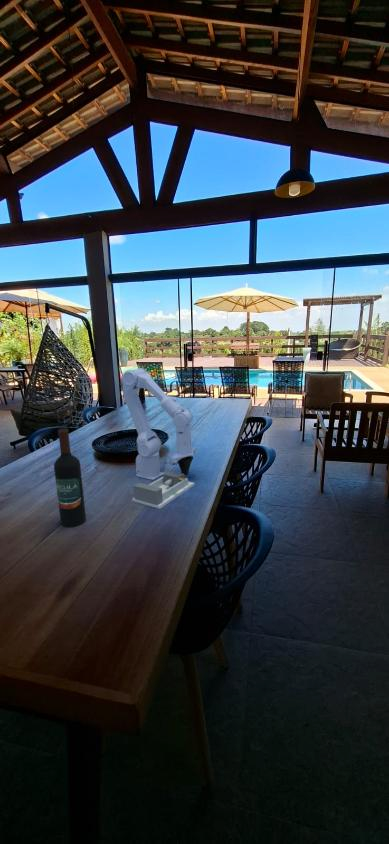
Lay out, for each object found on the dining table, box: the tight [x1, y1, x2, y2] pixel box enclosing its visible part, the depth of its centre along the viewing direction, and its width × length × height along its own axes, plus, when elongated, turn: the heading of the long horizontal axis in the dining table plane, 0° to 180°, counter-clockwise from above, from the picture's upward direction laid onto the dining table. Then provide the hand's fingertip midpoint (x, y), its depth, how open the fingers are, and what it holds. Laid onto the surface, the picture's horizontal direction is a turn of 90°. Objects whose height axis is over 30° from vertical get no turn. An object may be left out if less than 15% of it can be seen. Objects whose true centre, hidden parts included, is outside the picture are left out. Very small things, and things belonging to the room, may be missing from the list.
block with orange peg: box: [162, 470, 186, 486], centre depth 137 cm, size 9×7×4 cm
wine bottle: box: [53, 428, 87, 528], centre depth 112 cm, size 8×8×30 cm
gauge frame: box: [131, 476, 195, 509], centre depth 134 cm, size 12×22×6 cm, turn 148°
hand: (185, 474), depth 145 cm, fingers closed
